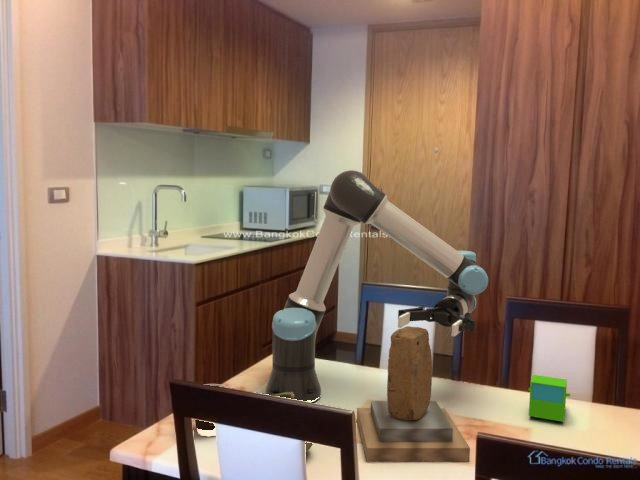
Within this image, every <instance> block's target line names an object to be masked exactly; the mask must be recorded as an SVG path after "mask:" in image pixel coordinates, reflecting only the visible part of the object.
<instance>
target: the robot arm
mask: <svg viewBox="0 0 640 480" xmlns="http://www.w3.org/2000/svg"><path fill="white" fill-rule="evenodd" d="M322 210H323V212H324V214H325V215H324V216H325V217H324V219H323V222H322V225H321V226H320V230H319V233H318V235H317V237H316V240H315V242H314V244H313V247H312V250H311V253H310V255H309V258H308V260H307V263H306V265H305V266H304V267H305V268H304V270H303V273H302V275H301V278H300V281H299V282H298V286H297V288H296V290H295V291H294V292H292V293H290V294H288V297H287V298H286V299H287V300H286V302H285V305H284V307H283V309H281V310H278V311H276V312H275V313H274V315H273V317H272V323H271V328H272V357H271V359H272V369H271V372H270V375H269V377H268V381H267V384H266V387H265V395H266V394H269V395H276V394H280V393H285V392H293V394H294V396H295V397H294V399H297V400H303V401H307V400H311V401H312V400H315V399H316V398H318V397H320V395H322V388H321V385H320V382H319V378H318V375H317V372H316V366H315V364H316V339H317V334H318V330H319V327H320V325H321V322H322V320H323V318H324V316H325V313H326V310H327V308H326V305H325V303H324V302H325V298H326V296H327V294H328V291H329V289H330V286H331V283H332V281H333V280H334V279H333V278H334V276H335V274H336V272H337V268H338V266H339V263H340V261H341V259H342V256H343V253H344V251H345V248H346V246H347V243H348V242H349V239H350V237H351V233H352V230H353V229H354V227H355V226H357V225H360V224H361V223H363V224H364V225H368V224H370V225H372V226H374V227H375V228H376V229H377V230H379V231H380V232H382V233H383V234H384V235H386V236H387V237H389V238H391V239H392V240H393V241H395V243H397V244H398V245H400V246H402V247H403V248H404V249H406V250H407V251H408V252H410V253H411V254H413V255H415V257H417V258H418V259H419V260H420V261H422V262H423V263H424V264H426V265H428V266H429V267H431V268H432V269H434V270H435V271H437V272H438V273H439V274H441V275H442V276H443V277H445V278H446V279H447V288H446V289H447V292H446V297H444V298H442V299H441V300H439V301H437V303H435V304H434V307H430V308H429V307H428V308H426V307H425V306H424V305H421V306H419V307H414V308H413V307H412V308H405V309H398V310H397V313H398V314H397V328H398V329H401V328H404V327H406V326H407V325H409V324H410V323H411V322H419V321H421V322H423V321H426V322H428V323H431V322H432V323H434V322H435V323H438V324H439V325H441V326H442V327H446V328H450V327H451V333H450V334H451V337H457V335H458V334H460V333H461V332H462V333H463V332H466V331H468V330H469V331H470V332H475V331H476V323H477V322H476V320H475V319H474V318H473V317H472V316H471V314H472V313H473V312H474V310H475V309H476V307H477V298H476V297H475V296H476V295H479V294H481V293H483V292H484V291H485V290H486V288H487V287H488V284H489V277H488V274H487V272H486V271H485V269H484V268H483V267H481V266H479V265H477V255H476V253H475V252H474V251H470V250H456V249H455V248H454V247H453V246H451V245H450V244H448V243H447V242H446V241H444V240H443V239H441V238H440V237H439V236H437V235H436V234H435V233H433V232H432V231H430V230H429V229H428V228H426V227H425V226H423V225H422V224H421V223H419V222H418V221H417V220H415V219H414V218H412V217H411V216H410V215H409V214H407V213H405V212H404V211H403V210H402V209H400V208H398V207H397V206H396V205H394V204H393V203H392V202H390V201H389V200H388V196H387V193H385V192H383V191H382V190H380V189H379V188H378V187H377V186H376V185H375V184H374V183H373V182H372V181H371V180H370V179H369V177H368V176H367V175H365V173H363V172H361V171H358V170H353V169H352V170H346V171H343V172H341V173H339V174H338V175H337V176H336V177H334V179H333V180H332V182H331V184H330V188H329V192H328V195H327V197H326V200H325V201H324V205H323V208H322ZM425 308H426V309H425ZM280 397H286V398H291V397H290V396H289V395H282V396H280ZM320 398H321V397H320Z"/></svg>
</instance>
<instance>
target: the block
mask: <svg viewBox="0 0 640 480" xmlns="http://www.w3.org/2000/svg"><path fill="white" fill-rule="evenodd" d="M429 335H430V333H429V331H428V329H427V328H423V327H419V326H409V325H408V326H407V325H406V326H403V327H402V328H398V329H397V330H395V331H394V332H393V333H392V334H391V335H390V347H389V349H388V350H389V351H388V360H387V361H388V362H387V363H388V364H387V381H386V382H387V383H386V385H387V387H386V390H387V391H386V396H387V398H386V399H387V400H386V401H387V404H388V412H389V414H390V415H391V416H394V417H395V418H398V419H401V420H405V421H406V420H418V419H420V418H422V417H423V416H424V414H425V412H426V410H427V408H428V406H429V403H430V401H431V398H432V397H431V396H432V387H433V386H432V384H433V383H432V381H433V357H432V349H431V345H430V336H429Z"/></svg>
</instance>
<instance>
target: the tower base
mask: <svg viewBox="0 0 640 480" xmlns="http://www.w3.org/2000/svg"><path fill="white" fill-rule="evenodd" d="M356 422H357V426H358V430H359V433H360V434H359V435H360V438H361V443H362V447H363V451H364V455H365V460H366V462H368V463H372V462H373V463H376V462H378V463H379V462H383V463H384V462H394V463H395V462H397V463H398V462H400V463H401V462H408V463H409V462H415V463H416V462H418V463H419V462H428V463H429V462H430V463H431V462H470V459H471V458H470V454H471V447H470V445H469V443H468V442H467V441H466V439H465V438H464V435H462V433H461V431H460V430H459V429H458V427H457V425H456V423H455V422H454V420H453V419H452V418H451V416H450V414H449V412H448V411H447V410H446V408H445V407H441V406H440V404H439V403H438V402H437V400H430V403H429V406H428V408H427V410H426V412H425V414H424V416H423V417H422V418H420V419H418V420H406V421H405V420H401V419H398V418H395V417H394V416H391V415H390V414H389V412H388V404H387V400H370V407H357V409H356Z"/></svg>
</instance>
